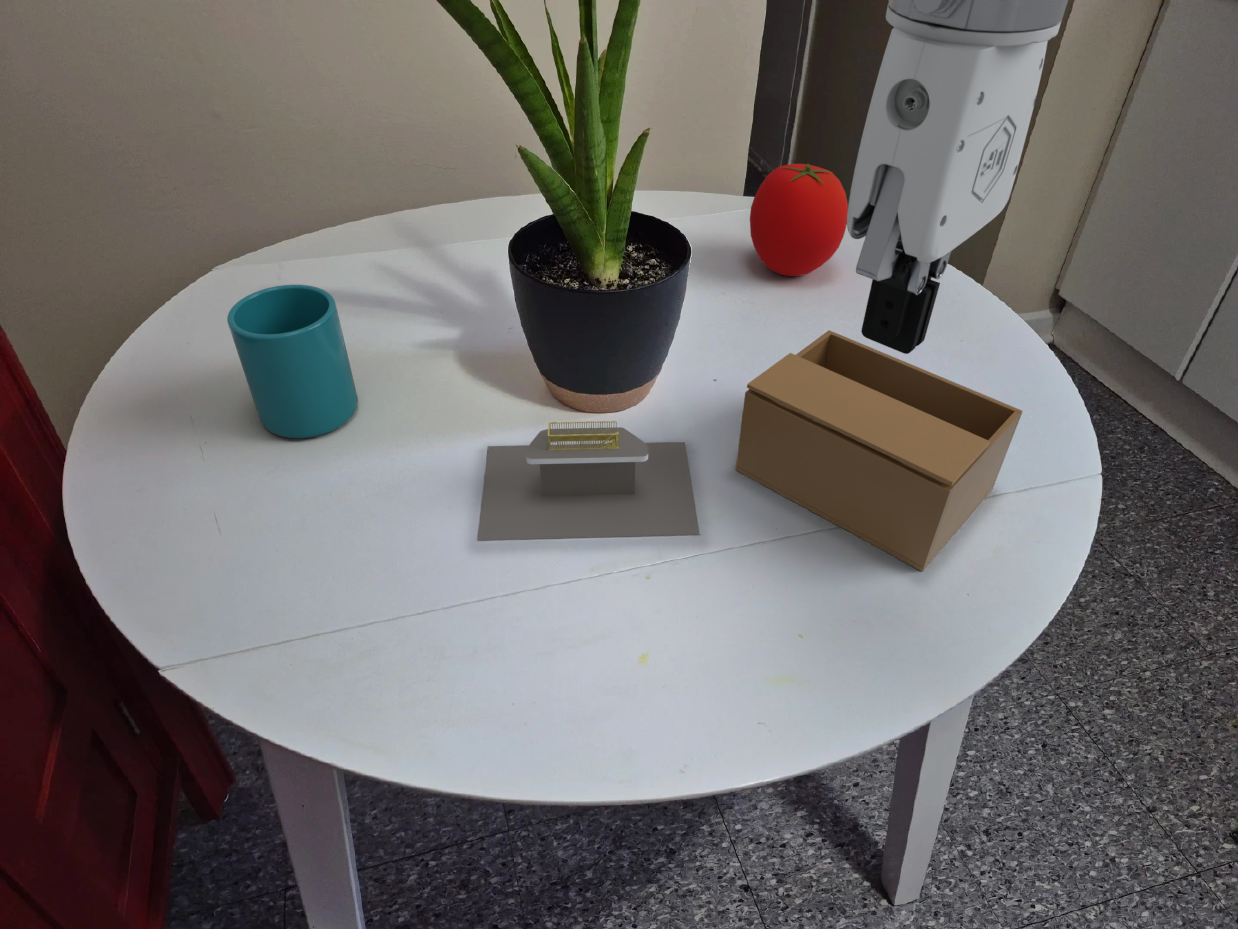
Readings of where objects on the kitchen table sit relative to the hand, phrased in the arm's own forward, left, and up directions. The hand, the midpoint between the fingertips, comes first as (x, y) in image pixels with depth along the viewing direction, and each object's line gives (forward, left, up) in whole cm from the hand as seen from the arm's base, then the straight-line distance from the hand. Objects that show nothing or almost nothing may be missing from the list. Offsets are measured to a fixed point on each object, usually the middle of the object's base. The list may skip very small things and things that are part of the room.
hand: (891, 339), depth 50 cm
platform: (+22, +3, -23) cm, 32 cm away
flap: (+5, -11, -14) cm, 18 cm away
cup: (+50, +12, -23) cm, 56 cm away
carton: (+5, -14, -23) cm, 27 cm away
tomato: (+31, -42, -23) cm, 57 cm away
